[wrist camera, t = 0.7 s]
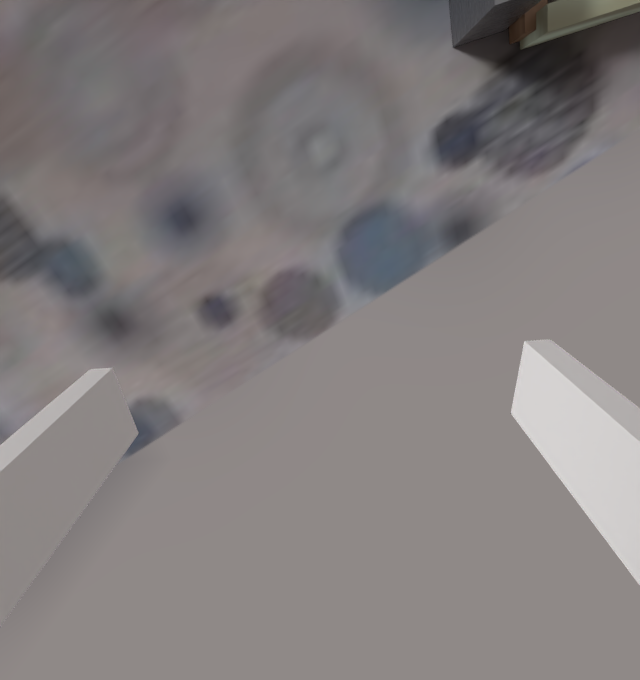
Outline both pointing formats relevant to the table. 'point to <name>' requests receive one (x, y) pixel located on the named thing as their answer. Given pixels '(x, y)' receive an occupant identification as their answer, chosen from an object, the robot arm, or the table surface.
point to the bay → (566, 18)
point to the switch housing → (484, 17)
